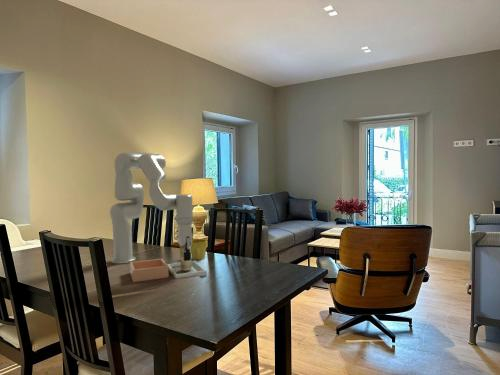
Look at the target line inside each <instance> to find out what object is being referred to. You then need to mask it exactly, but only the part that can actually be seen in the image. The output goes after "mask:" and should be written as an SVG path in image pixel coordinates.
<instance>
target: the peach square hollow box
mask: <svg viewBox="0 0 500 375" xmlns="http://www.w3.org/2000/svg"><path fill="white" fill-rule="evenodd" d="M167 264H168V263H167V262H166V261H165V260H164V259H163V258H156V259H147V260H139V261H138V260H137V261H132V262H129V274H130V277H131V279H132V283H135V282H142V281H143V282H144V281H150V280H159V279H165V278H169V276H170V275H169V269H168V265H167Z"/></svg>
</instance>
